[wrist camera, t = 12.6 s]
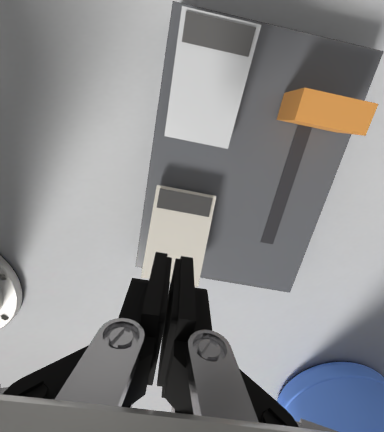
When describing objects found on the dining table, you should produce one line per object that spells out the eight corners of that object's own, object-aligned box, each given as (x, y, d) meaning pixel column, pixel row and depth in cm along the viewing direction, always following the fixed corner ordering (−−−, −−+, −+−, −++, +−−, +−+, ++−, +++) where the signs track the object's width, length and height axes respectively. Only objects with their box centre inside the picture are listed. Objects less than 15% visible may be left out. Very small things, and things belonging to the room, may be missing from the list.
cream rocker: (197, 281, 24) (198, 287, 23) (142, 272, 24) (140, 278, 23) (214, 195, 23) (216, 196, 22) (158, 184, 23) (156, 185, 22)
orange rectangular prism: (335, 132, 22) (365, 135, 18) (276, 119, 21) (294, 120, 18) (345, 106, 21) (378, 103, 17) (284, 92, 21) (304, 87, 17)
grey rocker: (226, 144, 22) (228, 149, 21) (166, 131, 21) (164, 136, 20) (258, 26, 17) (262, 24, 16) (183, 8, 17) (181, 5, 16)
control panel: (280, 276, 30) (293, 298, 27) (140, 252, 29) (133, 272, 25) (359, 59, 23) (392, 48, 19) (175, 16, 22) (171, -6, 18)
